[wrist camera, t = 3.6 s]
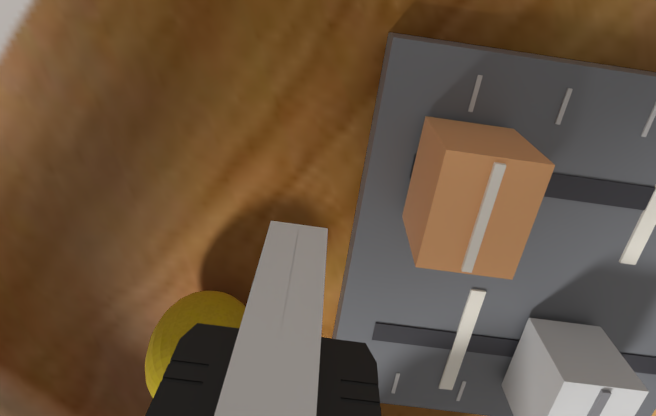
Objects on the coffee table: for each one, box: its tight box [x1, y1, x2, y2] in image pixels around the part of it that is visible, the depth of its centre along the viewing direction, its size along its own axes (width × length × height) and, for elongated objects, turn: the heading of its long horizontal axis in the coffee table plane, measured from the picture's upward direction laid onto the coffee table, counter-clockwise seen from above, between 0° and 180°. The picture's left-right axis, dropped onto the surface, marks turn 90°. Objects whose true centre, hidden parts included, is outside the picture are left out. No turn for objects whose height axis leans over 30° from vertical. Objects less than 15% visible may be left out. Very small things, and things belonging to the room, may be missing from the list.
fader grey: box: [502, 318, 649, 416], centre depth 25 cm, size 4×5×5 cm
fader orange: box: [402, 116, 555, 280], centre depth 20 cm, size 4×5×5 cm
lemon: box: [145, 291, 246, 398], centre depth 25 cm, size 6×6×8 cm
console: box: [332, 32, 656, 416], centre depth 25 cm, size 20×21×3 cm
